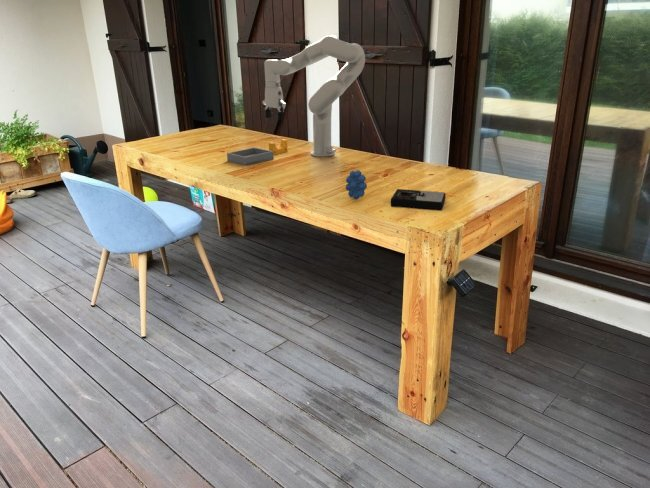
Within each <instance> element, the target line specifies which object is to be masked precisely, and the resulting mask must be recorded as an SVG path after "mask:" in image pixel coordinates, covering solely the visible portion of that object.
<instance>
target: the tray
mask: <svg viewBox="0 0 650 488" xmlns="http://www.w3.org/2000/svg"><path fill="white" fill-rule="evenodd" d="M226 160H227V162H230V163H235V164H239V165H242V166H250V165H254V164H258V163H262V162H267V161H271V160H274V155H273V151H269V149H265V148H259V147H256V146H255V147H250V148H244V149H240V150H239V149H238V150H235V151H230V152H227V153H226Z"/></svg>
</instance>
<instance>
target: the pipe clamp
mask: <svg viewBox="0 0 650 488" xmlns="http://www.w3.org/2000/svg"><path fill="white" fill-rule="evenodd" d="M268 150H269V151H273V156H276V155H279V154H283V153H287V152H288V151H289V150H288V139H286V138H285V139H284V138H283V139H281V140H280V144H279V145H278V144H277V145H276V143H275V142H272V141H271V142H268Z"/></svg>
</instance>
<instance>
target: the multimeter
mask: <svg viewBox="0 0 650 488" xmlns="http://www.w3.org/2000/svg"><path fill="white" fill-rule="evenodd" d="M446 196H447V195H446V193H445V192H443V191H431V190H419V189H418V190H416V189H405V188H404V189H401V188H397V189H396V190H395V192H394V193H393V195H392V197H391V198H390V207H392V208H404V209H414V210H415V209H416V210H427V211H442V210H443V208H444V204H445V201H446Z"/></svg>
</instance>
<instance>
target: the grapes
mask: <svg viewBox="0 0 650 488" xmlns="http://www.w3.org/2000/svg"><path fill="white" fill-rule="evenodd" d="M366 178H367V177H366V176H365V174H362V171H360V170H359V169H358V170H356V171H355V170H352V171H350V172H349V175H348V176H347V177H346V179H345V182H346V183H347V184H346V185H345V190H346V191H347V192H348V197H350V198H353V199H354V200H358V199H360V198H362V197H363V196H365V190H366V189H367V186H368V185H367V182H366Z"/></svg>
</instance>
